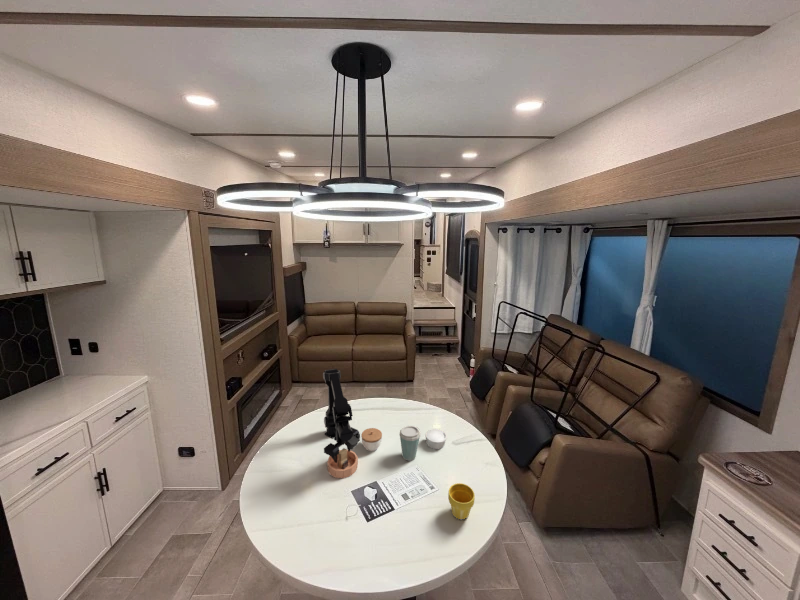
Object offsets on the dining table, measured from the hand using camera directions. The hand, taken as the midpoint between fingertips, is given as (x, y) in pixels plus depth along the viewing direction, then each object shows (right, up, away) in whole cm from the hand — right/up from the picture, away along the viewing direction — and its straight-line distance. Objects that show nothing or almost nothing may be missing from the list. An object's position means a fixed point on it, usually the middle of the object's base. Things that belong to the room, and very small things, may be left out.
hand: (342, 456), depth 151 cm
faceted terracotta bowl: (0, -6, +1) cm, 6 cm away
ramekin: (+47, -3, +19) cm, 50 cm away
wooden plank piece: (0, -5, +1) cm, 5 cm away
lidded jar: (+12, -3, +16) cm, 20 cm away
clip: (0, -6, +1) cm, 6 cm away
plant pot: (+52, -12, -22) cm, 58 cm away
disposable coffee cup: (+32, -5, +10) cm, 34 cm away
